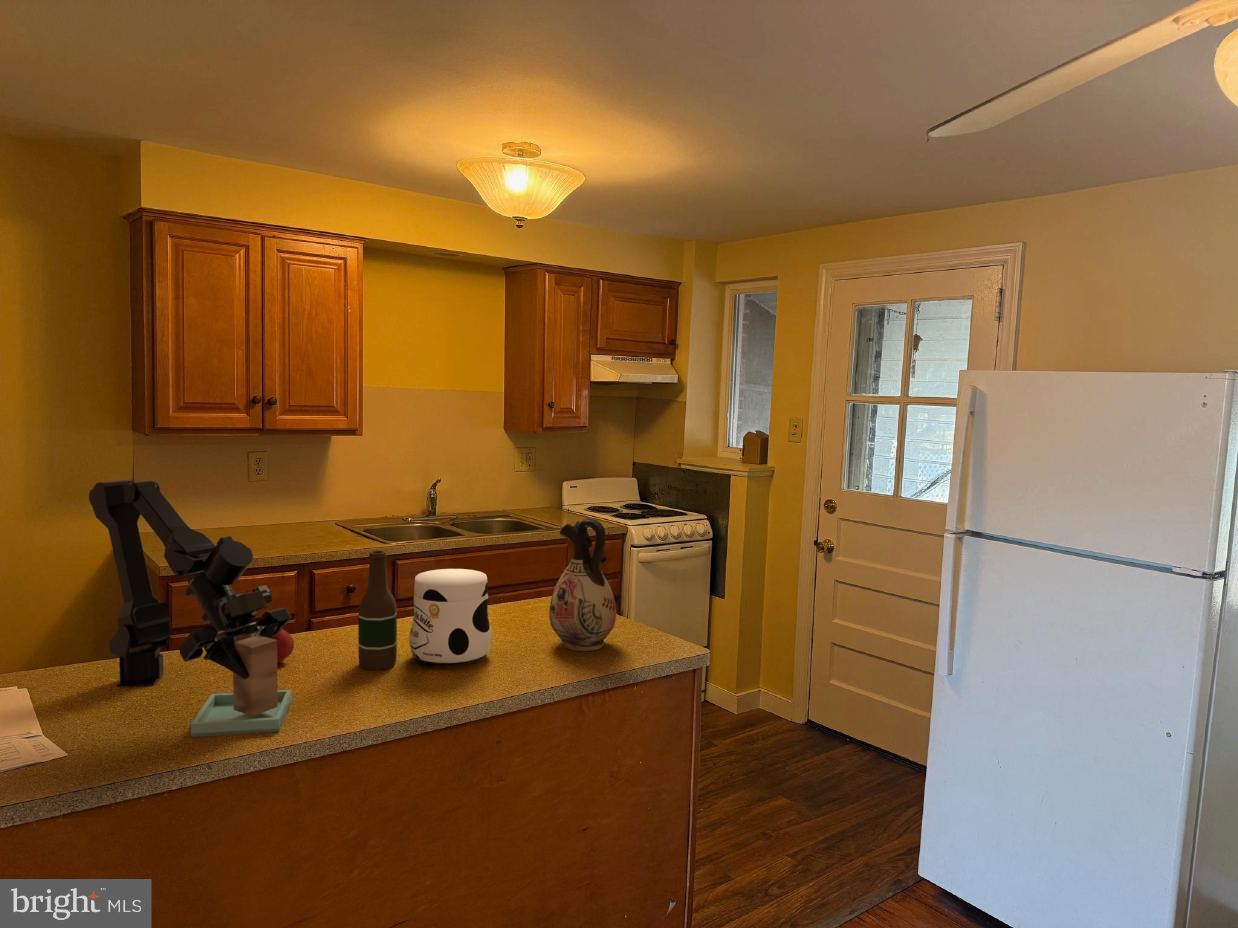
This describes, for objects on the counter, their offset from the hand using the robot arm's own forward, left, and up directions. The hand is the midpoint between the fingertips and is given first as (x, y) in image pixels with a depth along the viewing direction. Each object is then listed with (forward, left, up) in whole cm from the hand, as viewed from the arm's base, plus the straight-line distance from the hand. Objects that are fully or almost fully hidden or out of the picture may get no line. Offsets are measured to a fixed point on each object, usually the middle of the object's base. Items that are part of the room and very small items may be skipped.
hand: (260, 672), depth 144 cm
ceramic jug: (+63, +32, -9) cm, 71 cm away
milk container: (+33, +28, -9) cm, 44 cm away
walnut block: (-1, +1, -7) cm, 7 cm away
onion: (-2, +30, -9) cm, 32 cm away
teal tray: (-3, +1, -8) cm, 9 cm away
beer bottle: (+18, +26, -9) cm, 33 cm away
